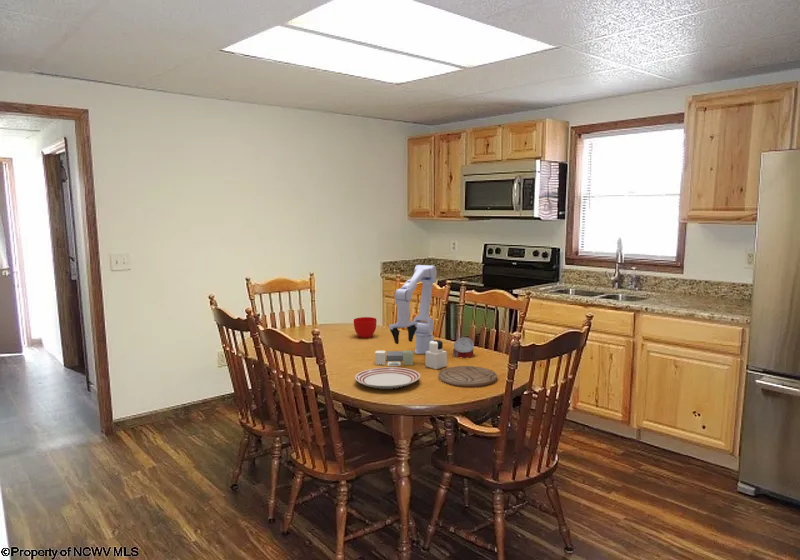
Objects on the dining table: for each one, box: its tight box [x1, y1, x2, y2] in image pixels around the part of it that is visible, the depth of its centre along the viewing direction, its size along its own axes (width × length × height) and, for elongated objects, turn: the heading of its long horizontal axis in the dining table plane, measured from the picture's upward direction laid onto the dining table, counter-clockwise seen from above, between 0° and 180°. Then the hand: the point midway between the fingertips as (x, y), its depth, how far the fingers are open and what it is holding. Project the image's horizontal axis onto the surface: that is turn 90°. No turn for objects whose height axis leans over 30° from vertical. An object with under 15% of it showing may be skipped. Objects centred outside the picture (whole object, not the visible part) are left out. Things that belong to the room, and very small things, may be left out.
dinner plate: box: [354, 366, 421, 390], centre depth 232 cm, size 27×27×3 cm
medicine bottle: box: [424, 339, 448, 370], centre depth 254 cm, size 7×7×12 cm
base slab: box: [386, 350, 404, 362], centre depth 268 cm, size 8×8×3 cm
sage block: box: [402, 350, 414, 366], centre depth 260 cm, size 5×5×6 cm
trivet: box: [437, 365, 498, 388], centre depth 237 cm, size 25×25×2 cm
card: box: [387, 361, 402, 367], centre depth 259 cm, size 6×6×1 cm
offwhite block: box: [374, 350, 387, 366], centre depth 260 cm, size 5×5×6 cm
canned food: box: [452, 336, 475, 359], centre depth 273 cm, size 11×10×10 cm
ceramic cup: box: [353, 316, 377, 339], centre depth 315 cm, size 13×17×10 cm
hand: (403, 342), depth 261 cm, fingers open, 7 cm apart
